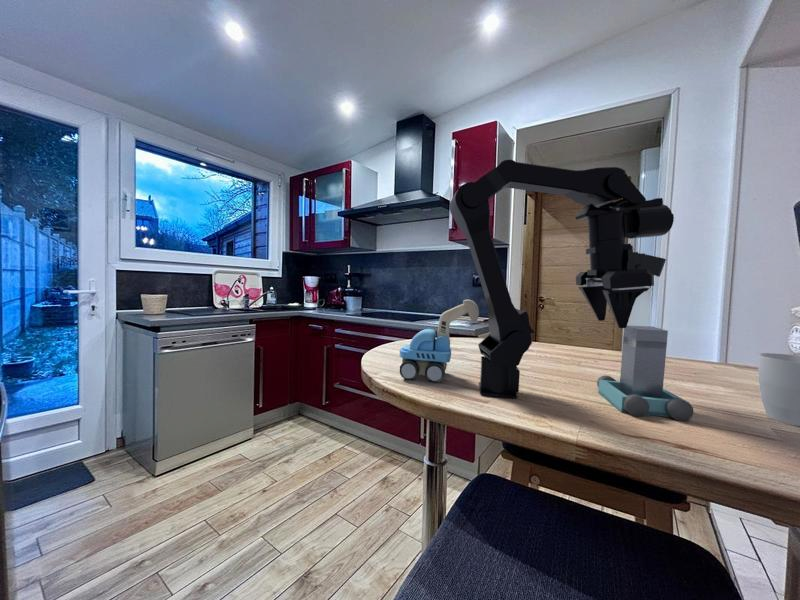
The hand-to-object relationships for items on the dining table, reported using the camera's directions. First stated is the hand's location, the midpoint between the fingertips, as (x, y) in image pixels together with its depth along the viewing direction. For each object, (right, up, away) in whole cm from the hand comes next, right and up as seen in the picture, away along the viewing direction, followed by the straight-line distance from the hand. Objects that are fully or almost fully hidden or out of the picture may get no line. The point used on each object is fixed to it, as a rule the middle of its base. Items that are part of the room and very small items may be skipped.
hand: (611, 324), depth 61 cm
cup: (+23, -15, -9) cm, 29 cm away
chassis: (+2, -14, -4) cm, 15 cm away
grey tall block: (+2, -13, -4) cm, 14 cm away
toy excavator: (-32, -13, +9) cm, 35 cm away
